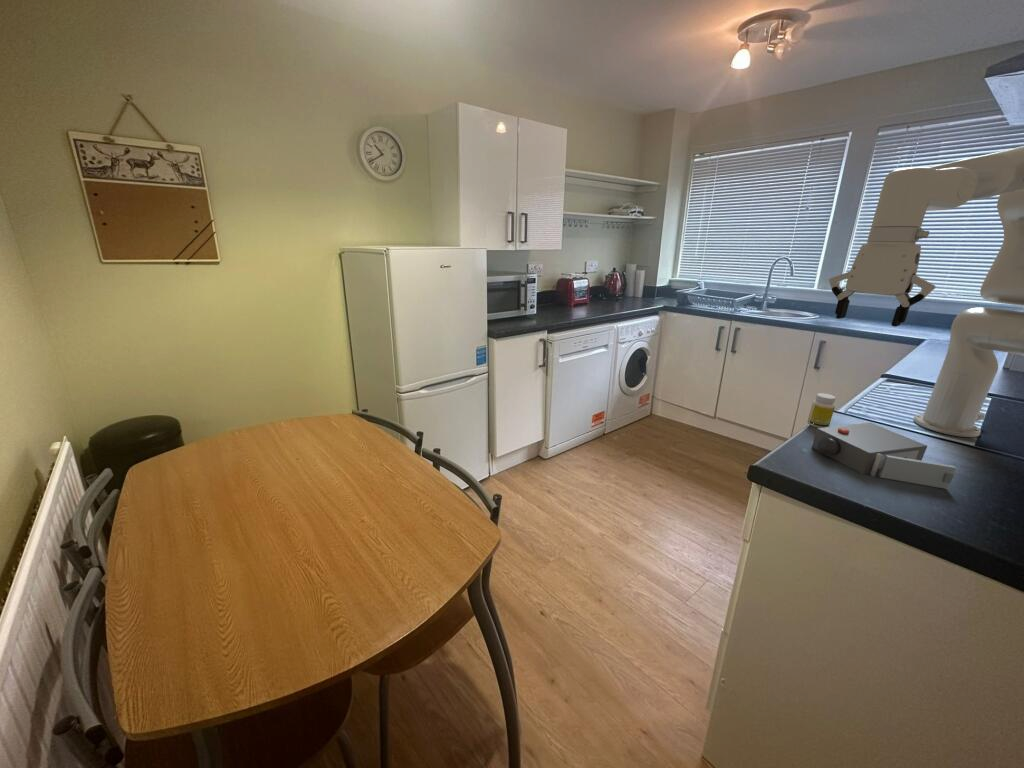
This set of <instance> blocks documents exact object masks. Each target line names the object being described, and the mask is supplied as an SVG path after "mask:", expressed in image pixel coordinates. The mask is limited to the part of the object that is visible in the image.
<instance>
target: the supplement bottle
mask: <svg viewBox="0 0 1024 768" xmlns="http://www.w3.org/2000/svg"><path fill="white" fill-rule="evenodd" d="M835 401H836V396H835V395H832V394H829V393H823V392H822V393H820V392H819V393H816V396H815V399H814V400H813V401H812V404H811V408H810V411H809V415H808V419H807V424H808V425H809V426H811V427H813V428H816V429H817V428H824V427H830V424H831V421H832V419H833V415H834V411H835V407H836V405H835V404H834V403H835ZM817 420H818V421H817ZM813 423H814V424H813ZM811 424H813V425H811Z"/></svg>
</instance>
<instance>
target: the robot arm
mask: <svg viewBox="0 0 1024 768" xmlns="http://www.w3.org/2000/svg"><path fill="white" fill-rule="evenodd" d="M996 196H998V199H997V205H996V210H997V213H998V216H999V218H1000V222H1001V225H1002V230H1003V241H1002V244H1001V247H1000V249H999V250H998V252H997V255H996V256H995V258H994V260H993V262H992V264H991V267H990V268H989V269H988V271H987V274H986V276H985V278H984V280H983V282H982V285H981V286H980V291H979V292H980V293H979V294H980V297H981V299H984V300H985V301H987V302H991V303H998V304H1004V305H1005V304H1006V305H1012V306H1021V307H1024V145H1022V146H1018V147H1013V148H1010V149H1006V150H1005V149H1004V150H1001V151H997V152H993V153H989V154H988V153H987V154H984V155H979V156H973V157H969V158H963V159H961V160H957V161H952V162H946V163H944V164H937V165H933V166H930V167H929V166H914V167H913V166H912V167H904V168H897V169H895V170H892V171H890V172H889V173H888V174H887V175H885V178H884V181H883V184H882V188H881V190H880V192H879V198H878V203H877V205H876V209H875V212H874V215H873V219H872V223H871V225H870V231H869V234H868V236H867V240H866V243H862V244H861V246H860V248H859V250H858V252H857V254H856V256H855V258H854V261H853V263H852V265H851V267H850V268H851V269H850V271H847V272H845V273H841V274H839V275H836V276H833V277H831V278H829V279H828V282H829V285H830V287H831V292H832V294H834V295H835V297H836V300H837V305H836V308H835V311H834V314H835V315H836V316H835V319H838V320H839V319H843V318H846V315H847V313H848V312H847V311H848V310H849V309H848V308H849V305H850V299H849V298H850V297H851V296H852V295H854V294H855V293H856V294H866V295H875V296H876V295H877V296H885V297H895V298H896V300H898V303H899V306H897V307H896V309H895V313H894V316H893V318H892V321H891V324H890V326H892V327H894V328H895V327H899V326H901V324H904V323H905V321H906V320H907V316H908V313H909V311H910V307H912V306H913V305H915V304H917V303H919V302H921V301H922V300H924V299H926V297H927V296H929V295H930V294H931V293H932V292H933V291H935V289H936V287H937V286H936V285H935V284H933V283H931V282H929V281H927V280H925V279H923V278H922V277H920V276H919V275H917V272H918V269H919V264H920V258H921V252H922V251H921V249H922V244H916V243H917V242H918V241H920V240H922V239H928V237H929V236H930V230H925V229H923V227H922V225H923V223H924V219H925V215H926V212H930V211H932V212H933V211H936V212H937V211H946V210H953V209H956V208H959V207H962V206H963V205H965V204H966V203H968V202H971V201H978V200H984V199H988V198H993V197H996ZM845 280H846V283H845V290H843V289H842V288H841V286H840V283H841V282H842V281H845ZM914 285H915V286H916V287H918V288H921V289H920V291H919V292H918V293H917V294H916V295H914V296H912V297H911V296H910V293H911V292H912V290H913V288H914ZM949 336H950V337H949V342H948V343H949V344H948V348H947V352H946V355H945V357H944V360H943V362H942V365H941V368H940V370H939V373H938V376H937V378H936V380H935V384H934V386H933V389H932V391H931V395H930V396H929V400H928V403H927V405H926V407H925V410H924V412H923V413H918V414H916V415H914V416H913V422H914V423H915V424H917V425H918V426H920V427H923V428H925V429H927V430H931V431H934V432H937V433H940V434H945V435H950V436H955V437H962V438H977V437H979V436H980V434H981V433H982V432H981V431H982V430H981V429H980V428H979V427H977V426H976V425H975V424H976V422H977V421H983V420H985V417H986V415H985V414H984V413H983V412H982V413H981V410H982V408H983V406H984V404H985V401H986V399H987V396H988V394H989V391H990V390H991V387H992V385H993V382H994V379H995V378H996V375H997V373H998V370H999V362H998V359H997V356H996V355H995V352H994V351H997V352H1003V353H1008V354H1013V355H1019V356H1024V311H1016V310H1012V309H1011V310H1010V309H1002V308H995V307H994V308H993V307H983V306H982V307H971V308H967V309H965V310H963V311H961V312H960V313H958V314H957V315H956V317H955V318H954V319H953V322H952V324H951V329H950V335H949Z"/></svg>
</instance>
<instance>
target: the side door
mask: <svg viewBox="0 0 1024 768" xmlns="http://www.w3.org/2000/svg"><path fill="white" fill-rule="evenodd" d="M956 471H957V467H956V466H955V465H949V464H946V463H939V462H932V461H926V460H922V461H920V460H914V459H908V458H902V457H895V456H889V455H886V456H885V459H884V462H883V464H882V467H881V470H880V472H879V473H878V477H879V478H883V479H886V480H887V479H888V480H894V481H900V482H904V483H911V484H916V485H917V484H918V485H921V486H928V487H934V488H939V489H945V490H947V489H948V488H949V485H950V484H951V483H952V480H953V478H954V474H955V472H956Z"/></svg>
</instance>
